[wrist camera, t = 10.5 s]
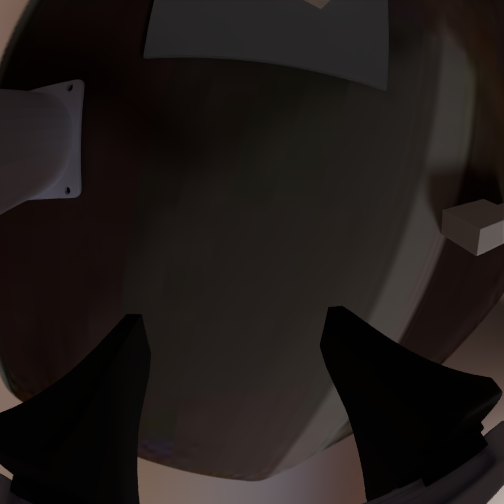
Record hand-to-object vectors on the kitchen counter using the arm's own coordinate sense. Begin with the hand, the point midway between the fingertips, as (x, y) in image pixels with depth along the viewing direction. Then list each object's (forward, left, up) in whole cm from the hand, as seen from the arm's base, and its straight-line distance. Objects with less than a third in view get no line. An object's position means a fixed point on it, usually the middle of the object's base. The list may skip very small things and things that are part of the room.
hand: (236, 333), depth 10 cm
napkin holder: (+25, +4, -10) cm, 27 cm away
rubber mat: (+2, +19, -9) cm, 21 cm away
